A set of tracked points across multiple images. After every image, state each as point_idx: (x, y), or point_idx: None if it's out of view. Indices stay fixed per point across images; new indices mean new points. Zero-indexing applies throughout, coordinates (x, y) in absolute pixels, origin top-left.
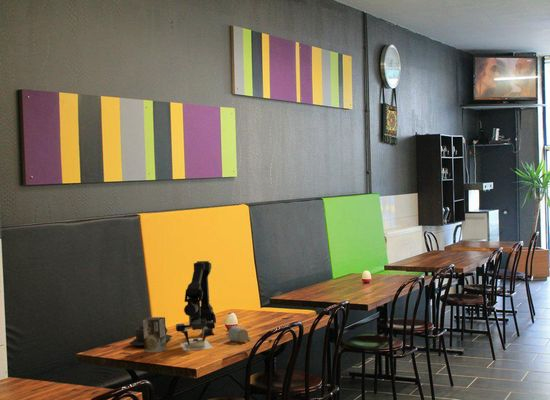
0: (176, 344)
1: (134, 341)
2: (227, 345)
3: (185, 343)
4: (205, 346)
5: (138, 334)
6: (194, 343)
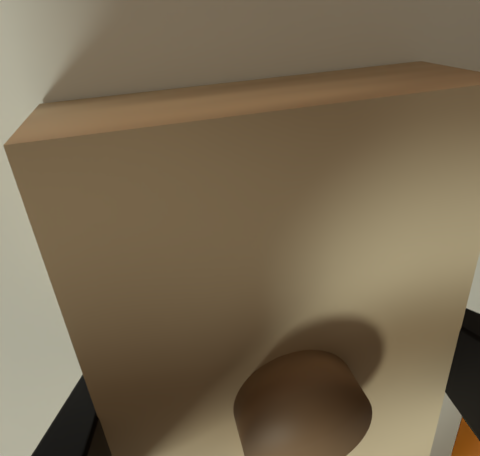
0: (475, 436)
1: None
2: None
3: None
4: None
5: None
6: (387, 93)
